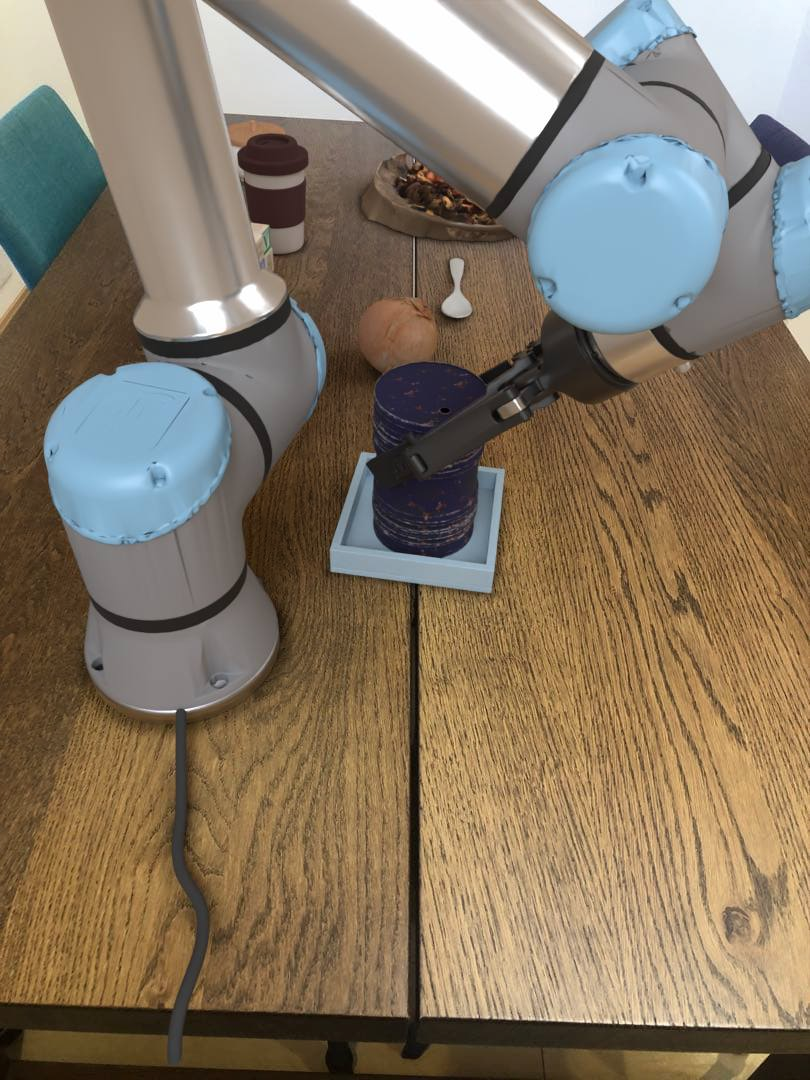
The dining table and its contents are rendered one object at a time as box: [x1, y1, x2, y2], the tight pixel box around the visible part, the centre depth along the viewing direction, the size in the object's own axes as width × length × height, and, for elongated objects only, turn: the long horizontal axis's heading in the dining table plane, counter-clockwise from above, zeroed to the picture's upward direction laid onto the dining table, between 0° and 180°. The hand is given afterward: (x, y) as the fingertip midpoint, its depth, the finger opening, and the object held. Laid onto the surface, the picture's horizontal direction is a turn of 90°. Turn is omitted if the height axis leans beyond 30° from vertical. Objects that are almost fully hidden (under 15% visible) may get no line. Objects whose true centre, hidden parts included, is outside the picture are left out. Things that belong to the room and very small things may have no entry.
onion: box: [356, 296, 438, 376], centre depth 96 cm, size 10×9×10 cm
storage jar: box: [371, 360, 486, 558], centre depth 73 cm, size 10×10×15 cm
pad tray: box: [329, 451, 506, 594], centre depth 78 cm, size 15×15×3 cm
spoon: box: [440, 257, 473, 319], centre depth 114 cm, size 4×21×2 cm, turn 177°
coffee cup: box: [237, 133, 310, 255], centre depth 119 cm, size 10×10×15 cm
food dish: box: [361, 151, 516, 242], centre depth 136 cm, size 35×33×8 cm
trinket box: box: [227, 119, 287, 183], centre depth 140 cm, size 11×11×9 cm
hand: (422, 436), depth 71 cm, fingers open, 13 cm apart
